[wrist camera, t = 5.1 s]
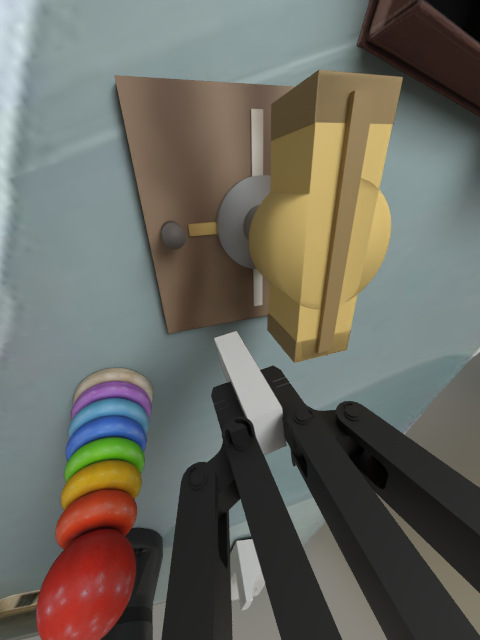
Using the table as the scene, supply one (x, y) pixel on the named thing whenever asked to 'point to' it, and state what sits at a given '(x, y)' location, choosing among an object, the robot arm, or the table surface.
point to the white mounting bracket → (245, 573)
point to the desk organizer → (429, 43)
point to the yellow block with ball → (324, 207)
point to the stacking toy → (97, 508)
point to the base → (201, 191)
